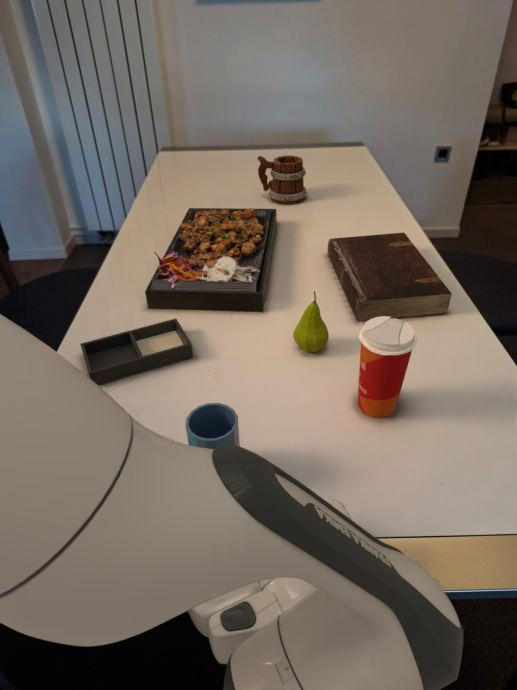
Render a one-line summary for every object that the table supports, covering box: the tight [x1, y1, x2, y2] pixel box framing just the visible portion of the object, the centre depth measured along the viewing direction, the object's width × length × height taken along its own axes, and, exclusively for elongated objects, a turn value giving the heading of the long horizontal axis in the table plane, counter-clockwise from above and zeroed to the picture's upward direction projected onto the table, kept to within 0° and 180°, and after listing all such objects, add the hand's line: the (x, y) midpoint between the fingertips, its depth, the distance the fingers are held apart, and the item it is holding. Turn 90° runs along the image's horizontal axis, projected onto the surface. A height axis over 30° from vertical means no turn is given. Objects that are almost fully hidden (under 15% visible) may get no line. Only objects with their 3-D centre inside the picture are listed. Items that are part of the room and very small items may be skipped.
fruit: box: [292, 290, 329, 353], centre depth 89 cm, size 6×6×12 cm
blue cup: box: [185, 402, 241, 449], centre depth 68 cm, size 7×7×10 cm
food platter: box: [144, 207, 278, 313], centre depth 119 cm, size 45×25×10 cm, turn 175°
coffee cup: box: [357, 316, 418, 419], centre depth 76 cm, size 8×8×15 cm
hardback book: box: [327, 232, 452, 322], centre depth 110 cm, size 29×19×5 cm, turn 5°
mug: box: [257, 154, 308, 205], centre depth 151 cm, size 12×14×15 cm
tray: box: [79, 318, 194, 386], centre depth 91 cm, size 18×10×3 cm, turn 115°
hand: (243, 502), depth 59 cm, fingers open, 8 cm apart
